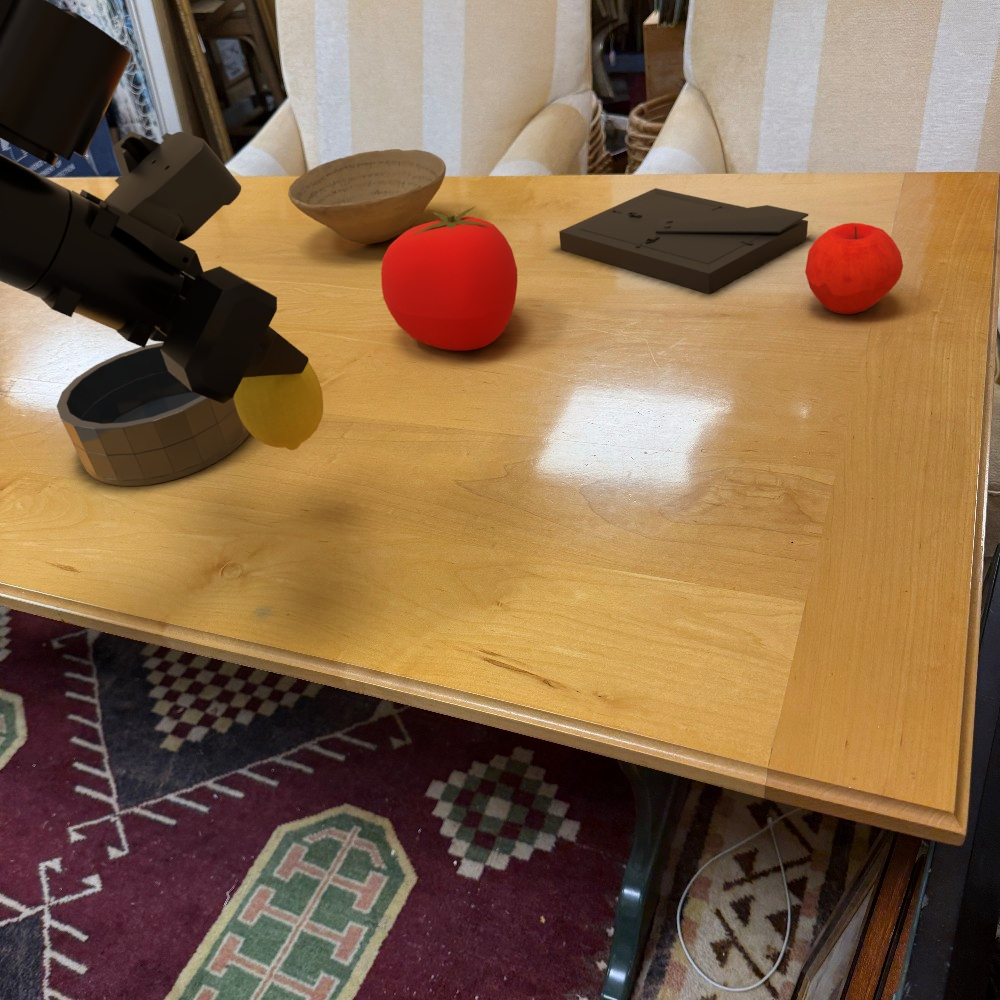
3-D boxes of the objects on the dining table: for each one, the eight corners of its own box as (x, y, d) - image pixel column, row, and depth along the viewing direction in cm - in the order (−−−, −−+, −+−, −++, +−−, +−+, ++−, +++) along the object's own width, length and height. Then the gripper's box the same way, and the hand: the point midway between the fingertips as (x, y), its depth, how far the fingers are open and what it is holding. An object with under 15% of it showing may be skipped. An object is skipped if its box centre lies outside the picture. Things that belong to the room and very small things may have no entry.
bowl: (353, 282, 101) (337, 211, 96) (278, 246, 113) (260, 182, 109) (484, 229, 109) (474, 162, 104) (400, 201, 121) (388, 140, 117)
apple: (915, 306, 80) (928, 225, 76) (851, 336, 78) (861, 253, 73) (844, 280, 86) (853, 203, 82) (782, 307, 83) (788, 228, 79)
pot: (70, 502, 72) (40, 444, 69) (98, 412, 84) (74, 359, 80) (254, 462, 73) (233, 404, 70) (256, 380, 85) (239, 326, 82)
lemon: (343, 425, 63) (316, 319, 58) (322, 470, 59) (292, 359, 54) (267, 428, 64) (235, 324, 59) (241, 473, 59) (204, 364, 55)
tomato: (428, 385, 80) (404, 261, 73) (378, 329, 90) (353, 216, 84) (552, 343, 83) (539, 221, 77) (490, 294, 94) (474, 183, 87)
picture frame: (806, 240, 95) (655, 205, 109) (808, 213, 93) (655, 181, 107) (709, 294, 88) (560, 249, 101) (709, 266, 86) (558, 224, 100)
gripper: (180, 117, 40) (428, 275, 51) (58, 77, 52) (278, 211, 64) (70, 345, 41) (337, 450, 52) (-23, 252, 53) (208, 353, 65)
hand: (287, 354), depth 58 cm, fingers closed on lemon, 4 cm apart
